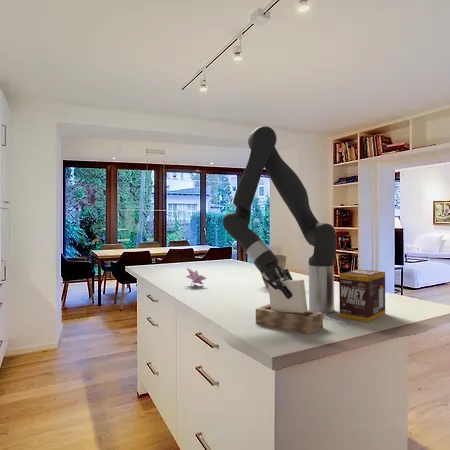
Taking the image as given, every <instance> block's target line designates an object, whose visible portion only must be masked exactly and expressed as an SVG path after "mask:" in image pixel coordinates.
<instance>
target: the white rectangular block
mask: <svg viewBox="0 0 450 450" xmlns="http://www.w3.org/2000/svg"><path fill="white" fill-rule="evenodd" d="M282 281H283V282H284V284H285V286H286V287H287V288H288V289H289V291H290V292H291V293H292V295H293V296H292V297H291V298H290V299H287V298H286V296H285V295H284V294H283V293H282V291H280V290H278V289H277V290H275V289H274V288H273V287H272V286H270V285H269V284H268V287H267V288H268V295H269V296H268V297H269V304H270V306H271V310H275V311H280V312H297V313H304V312H306V311H308V310H309V309H308V303H307V294H306V286H305V279H293V280H282Z"/></svg>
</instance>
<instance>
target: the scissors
mask: <svg viewBox="0 0 450 450" xmlns="http://www.w3.org/2000/svg"><path fill="white" fill-rule="evenodd" d="M323 320H327V321H330V322H333V323H335V324H337V325H339V326H341V327H344V328H345V327H346V326H344V325H343V324H347V325H350V322H349V323H348V322H346V321H345V322H344V321H342V320H337V319H333V318H332V317H329V316H328V313H323ZM341 323H343V324H341ZM351 325H354V324H353V323H351Z"/></svg>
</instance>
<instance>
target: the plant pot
mask: <svg viewBox="0 0 450 450" xmlns="http://www.w3.org/2000/svg"><path fill="white" fill-rule="evenodd" d="M274 255H275V256H276V257H277V259H278V265H279V266H280V267H281V268H282V270H285V268H286V263H287V261H286V260H287V255H284V254H274ZM260 274H261V277H262V280H263V276H264V275H265V273H261V272H260ZM263 283H264V286H265V288H268V283H267V282H266V281H265V280H263Z"/></svg>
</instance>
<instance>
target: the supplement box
mask: <svg viewBox="0 0 450 450" xmlns="http://www.w3.org/2000/svg"><path fill="white" fill-rule="evenodd" d="M338 275H339V276H338V278H339V281H338V283H339V287H338V289H339V291H338V292H339V318H345V319H349V320H353V321H354V320H355V321H358V322H359V321H360V322H363V323H369V322H372V321H373V320H375V319H378V318H380V317H382V316H384V315H386V271H381V270H373V269H372V270H370V269H361V268H360V269H358V268H357V269H354V270H350V271H346V272H345V271H344V272H340V273H339V274H338Z"/></svg>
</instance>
